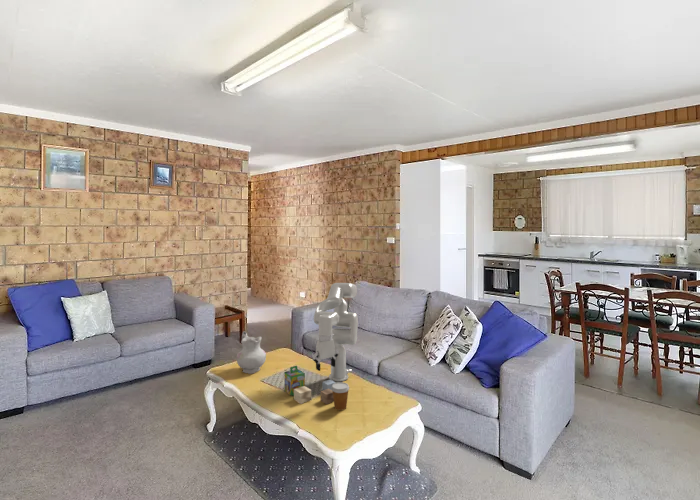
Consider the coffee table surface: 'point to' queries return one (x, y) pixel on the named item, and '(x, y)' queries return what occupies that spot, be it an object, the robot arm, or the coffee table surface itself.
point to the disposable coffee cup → (340, 395)
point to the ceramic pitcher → (251, 354)
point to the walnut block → (327, 396)
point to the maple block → (302, 394)
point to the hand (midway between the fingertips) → (325, 368)
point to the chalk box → (294, 380)
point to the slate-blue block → (327, 384)
